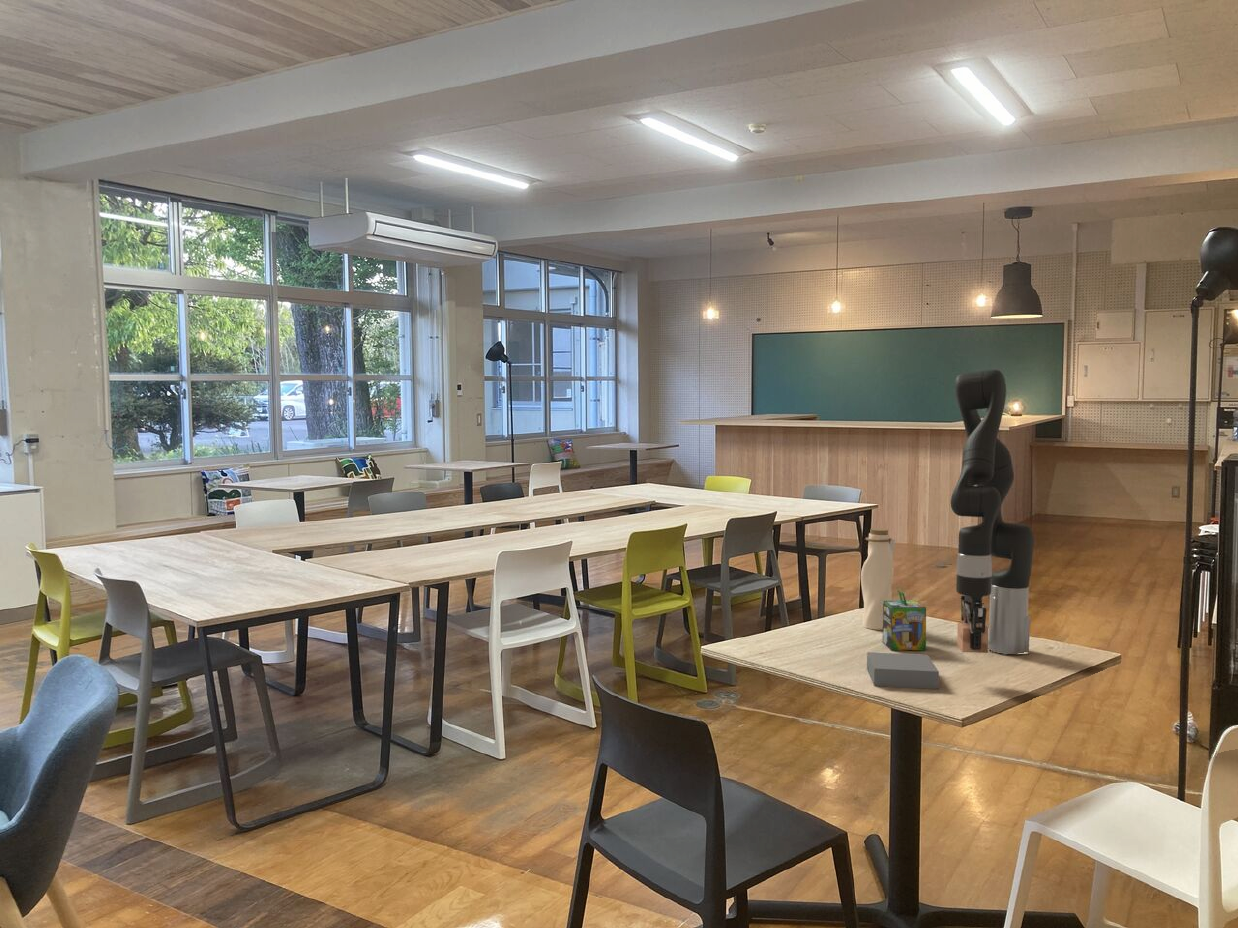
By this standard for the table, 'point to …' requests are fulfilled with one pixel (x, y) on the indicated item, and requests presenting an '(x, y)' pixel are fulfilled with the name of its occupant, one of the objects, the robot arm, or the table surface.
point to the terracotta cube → (964, 638)
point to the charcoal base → (902, 670)
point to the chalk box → (904, 624)
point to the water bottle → (877, 577)
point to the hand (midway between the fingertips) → (972, 645)
